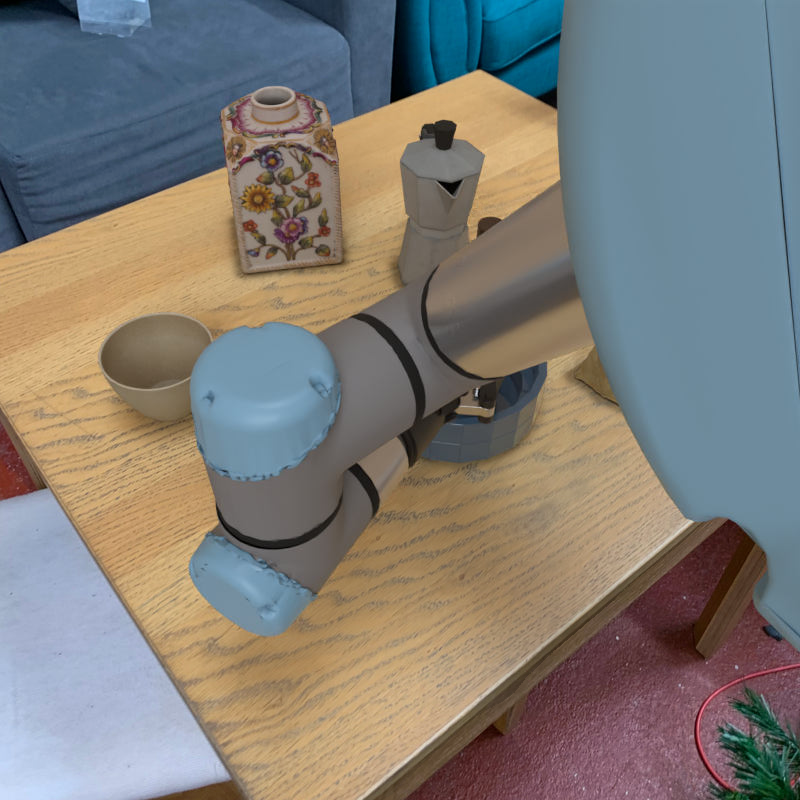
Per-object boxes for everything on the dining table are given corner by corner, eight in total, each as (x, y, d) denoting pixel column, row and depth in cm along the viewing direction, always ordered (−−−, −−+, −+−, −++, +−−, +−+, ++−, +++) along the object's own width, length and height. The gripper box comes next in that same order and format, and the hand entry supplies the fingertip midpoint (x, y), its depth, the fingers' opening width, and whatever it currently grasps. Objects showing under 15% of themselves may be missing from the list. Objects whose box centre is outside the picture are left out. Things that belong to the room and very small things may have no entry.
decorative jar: (344, 265, 88) (338, 117, 75) (242, 277, 86) (218, 128, 73) (328, 207, 96) (321, 64, 83) (234, 217, 94) (211, 72, 81)
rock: (730, 404, 71) (677, 325, 77) (711, 372, 65) (655, 287, 70) (626, 461, 75) (583, 382, 80) (598, 436, 68) (553, 351, 73)
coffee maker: (484, 304, 84) (505, 155, 71) (405, 311, 83) (411, 161, 70) (456, 225, 94) (470, 81, 81) (386, 230, 93) (387, 85, 79)
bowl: (571, 427, 72) (584, 383, 68) (419, 494, 67) (422, 451, 62) (477, 322, 82) (483, 278, 77) (337, 373, 76) (334, 329, 72)
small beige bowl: (116, 450, 69) (94, 396, 64) (120, 373, 76) (100, 318, 70) (227, 434, 71) (216, 380, 65) (222, 360, 77) (211, 305, 72)
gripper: (286, 428, 60) (433, 271, 74) (457, 515, 55) (581, 329, 69) (277, 361, 55) (438, 205, 68) (466, 449, 49) (599, 261, 63)
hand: (509, 267), depth 69 cm, fingers closed on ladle, 2 cm apart
